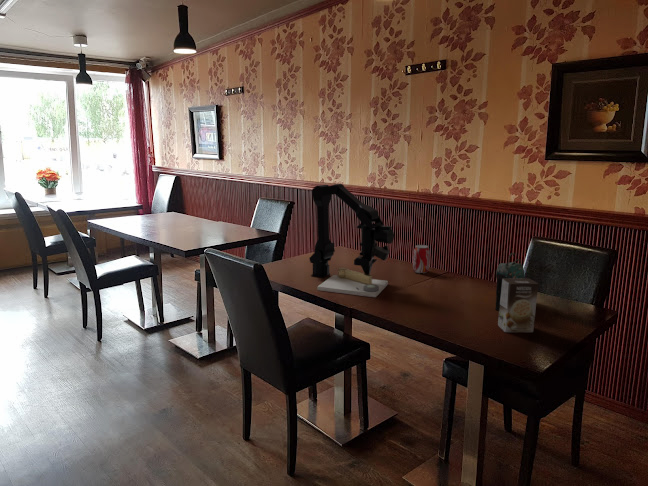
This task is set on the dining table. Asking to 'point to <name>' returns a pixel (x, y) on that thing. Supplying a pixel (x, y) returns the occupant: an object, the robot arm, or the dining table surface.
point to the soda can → (421, 259)
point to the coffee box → (517, 304)
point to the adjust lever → (354, 276)
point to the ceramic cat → (507, 276)
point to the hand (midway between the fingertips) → (367, 277)
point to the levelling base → (352, 286)
